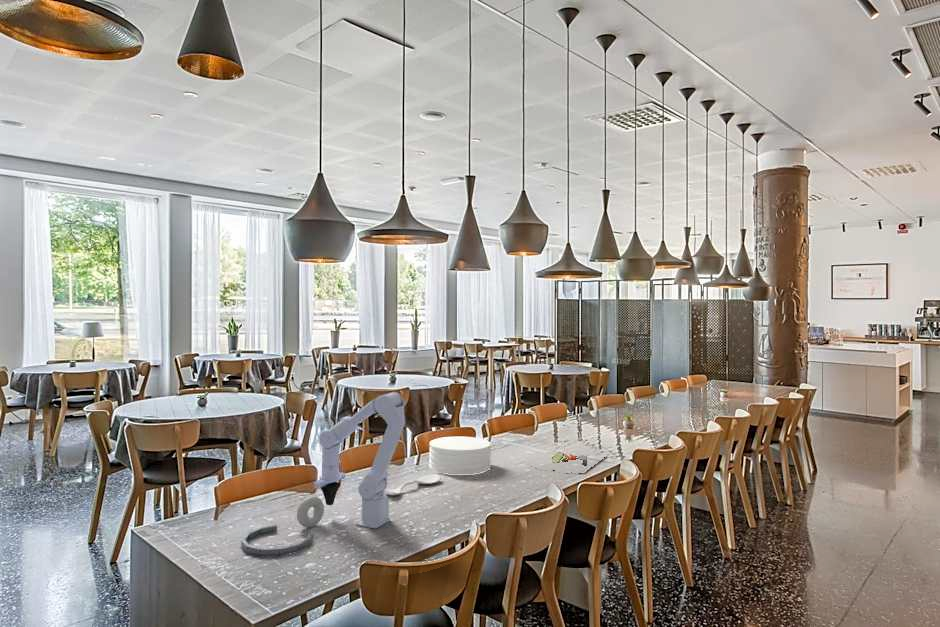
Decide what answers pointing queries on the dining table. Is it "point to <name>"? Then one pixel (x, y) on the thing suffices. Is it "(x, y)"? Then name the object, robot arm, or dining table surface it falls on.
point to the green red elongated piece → (560, 455)
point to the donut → (303, 511)
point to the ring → (271, 551)
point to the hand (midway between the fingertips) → (329, 504)
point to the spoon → (423, 480)
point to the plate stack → (459, 455)
